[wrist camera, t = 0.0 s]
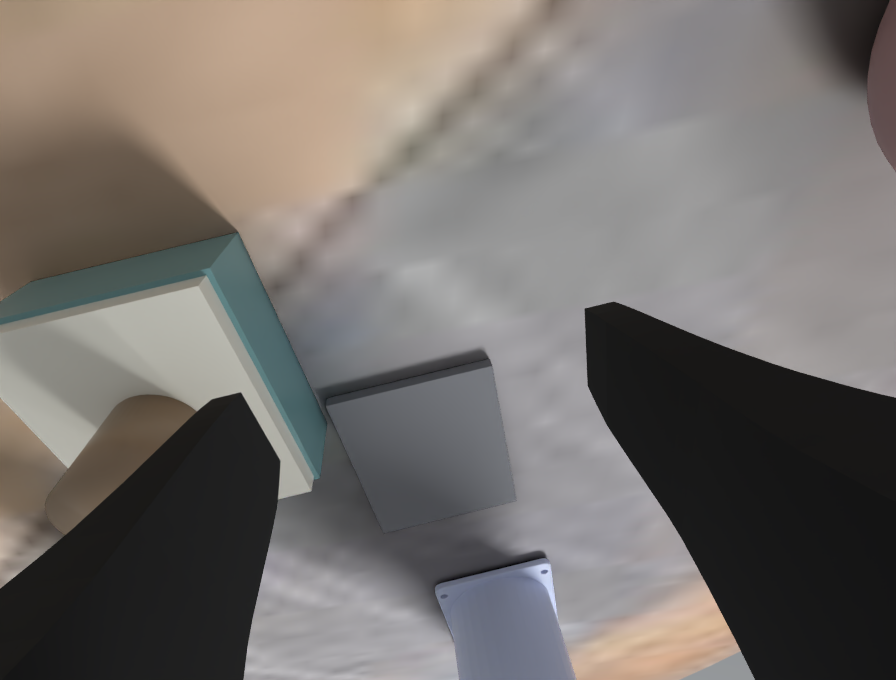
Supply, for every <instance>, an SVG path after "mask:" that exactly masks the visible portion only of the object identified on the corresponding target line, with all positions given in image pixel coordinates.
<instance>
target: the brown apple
mask: <svg viewBox="0 0 896 680" xmlns="http://www.w3.org/2000/svg"><path fill="white" fill-rule="evenodd" d="M867 103H868V109H869V115H870V120H871V125H872V128H873V131H874V134H875V137H876V140H877V143H878V145H879V146H880V148H881V150H882V152H883V153H884V155H885V157H886V159H887V160H888V162H889V163H890V164H891V166H892V167H893V169H894V170H895V171H896V0H890V1H889V4H888V6H887V8H886V11H885V13H884V15H883V18H882V20H881V23H880V25H879V28H878V32H877V35H876V38H875V42H874V45H873V48H872V52H871V58H870V65H869V71H868V77H867Z"/></svg>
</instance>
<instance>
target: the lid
mask: <svg viewBox="0 0 896 680" xmlns="http://www.w3.org/2000/svg"><path fill="white" fill-rule="evenodd" d="M239 392H241V393H242V395H243V397H244V398H245V400H246V402H247V404H248V405H249V407H250V409H251V410H252V412H253V414H254V416H255V417H256V419H257V421H258V423H259V424H260V426H261V428H262V430H263V431H264V433H265V435H266V436H267V438H268V440H269V442H270V443H271V445H272V447H273V449H274V450H275V452H276V454H277V456H278V457H279V459H280V461H281V462H280V480H279V492H278V499H282V498H286V497H290V496H294V495H298V494H303V493H307V492H311V491H312V485H313V478H314V476H313V474H312V472H311V470H310V468H309V466H308V465H307V463H306V461H305V459H304V457H303V455H302V453H301V451H300V450H299V448H298V446H297V444H296V442H295V440H294V438H293V436H292V435H291V433H290V431H289V429H288V427H287V425H286V423H285V421H284V420H283V418H282V416H281V414H280V412H279V410H278V408H277V406H276V405H275V403H274V401H273V399H272V397H271V395H270V393H269V391H268V390H267V388H266V386H265V384H264V382H263V380H262V378H261V376H260V374H259V373H258V371H257V369H256V367H255V365H254V363H253V361H252V359H251V358H250V356H249V354H248V352H247V350H246V348H245V346H244V344H243V343H242V341H241V339H240V337H239V335H238V333H237V331H236V329H235V328H234V326H233V324H232V322H231V320H230V318H229V316H228V314H227V313H226V311H225V309H224V307H223V305H222V303H221V301H220V299H219V298H218V296H217V294H216V292H215V290H214V288H213V286H212V284H211V283H210V281H209V279H208V277H207V275H205V276H201V277H197V278H193V279H189V280H184V281H180V282H176V283H172V284H168V285H164V286H160V287H155V288H151V289H147V290H143V291H139V292H135V293H130V294H126V295H122V296H118V297H114V298H110V299H105V300H101V301H97V302H93V303H89V304H85V305H80V306H76V307H72V308H68V309H64V310H60V311H55V312H51V313H47V314H43V315H39V316H35V317H31V318H26V319H22V320H18V321H14V322H10V323H6V324H1V325H0V398H1V399H2V400H3V401H4V402H5V403H6V404H7V405H8V406H9V407H10V408H11V409H12V410H13V412H14V413H15V414H16V415H17V416H18V417H19V418H20V419H21V420H22V421H23V422H24V423H25V424H26V425H27V426H28V427H29V428H30V429H31V430H32V431H33V432H34V433H35V435H36V436H37V437H38V438H39V439H40V440H41V441H42V442H43V443H44V444H45V445H46V446H47V447H48V448H49V449H50V450H51V451H52V452H53V453H54V454H55V455H56V456H57V458H58V459H59V460H60V461H61V462H62V463H63V464H64V465H65V466H66V467H67V468H68V470H67V471H66V472H65V474H64V475H63V476H62V478H61V479H60V480H59V482H58V483H57V484H56V486H55V487H54V488H53V490H52V491H51V492H50V494H49V495H48V497H47V499H46V503H45V511H46V515H47V517H48V519H49V520H50V522H51V523H52V525H53V526H54V527H55V528H56V529H58V530H59V531H60V532H61V533H63V534H64V535H66V534H67V533H68V532H69V531H71V530H72V529H73V528H74V527H75V526H76V525H77V524H78V523H79V522H81V521H82V520H83V519H84V518H85V517H86V516H87V515H88V514H89V513H90V512H92V511H93V510H94V509H95V508H96V507H97V506H98V505H99V504H100V503H101V502H102V501H104V500H105V499H106V498H107V497H108V496H109V495H110V494H111V493H112V492H113V491H114V490H116V489H117V488H118V487H119V486H120V485H121V484H122V483H123V482H124V481H125V480H126V479H127V478H128V477H130V476H131V475H132V474H133V473H134V472H135V471H136V470H137V469H138V468H139V467H140V466H141V465H142V464H143V463H144V462H145V461H146V460H147V459H148V458H149V457H150V456H151V455H152V454H153V453H154V452H155V451H156V450H157V449H158V448H159V447H160V446H161V445H162V444H164V443H165V442H166V441H167V440H168V439H169V438H170V437H171V436H172V435H173V434H174V433H175V432H176V431H177V430H178V429H179V428H180V427H181V426H182V425H183V424H184V423H185V422H186V421H187V420H188V419H189V418H191V417H192V416H193V415H194V414H195V413H196V412H197V411H198V410H199V409H200V408H202V407H203V406H204V405H205V404H206V403H208V402H209V401H210V400H211V399H215V398H219V397H223V396H227V395H231V394H235V393H239Z"/></svg>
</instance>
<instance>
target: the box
mask: <svg viewBox="0 0 896 680" xmlns="http://www.w3.org/2000/svg"><path fill="white" fill-rule="evenodd" d="M205 275H207V277H208V279H209V281H210V283H211V284H212V286H213V288H214V290H215V292H216V294H217V296H218V298H219V299H220V301H221V303H222V305H223V307H224V309H225V311H226V313H227V314H228V316H229V318H230V320H231V322H232V324H233V326H234V328H235V329H236V331H237V333H238V335H239V337H240V339H241V341H242V343H243V344H244V346H245V348H246V350H247V352H248V354H249V356H250V358H251V359H252V361H253V363H254V365H255V367H256V369H257V371H258V373H259V374H260V376H261V378H262V380H263V382H264V384H265V386H266V388H267V390H268V391H269V393H270V395H271V397H272V399H273V401H274V403H275V405H276V406H277V408H278V410H279V412H280V414H281V416H282V418H283V420H284V421H285V423H286V425H287V427H288V429H289V431H290V433H291V435H292V436H293V438H294V440H295V442H296V444H297V446H298V448H299V450H300V451H301V453H302V455H303V457H304V459H305V461H306V463H307V465H308V466H309V468H310V470H311V472H312V474H313V476H314V478H313V480H315V479H319V478H320V474H321V467H322V459H323V452H324V444H325V437H326V429H327V422H326V420H325V418H324V415H323V413H322V411H321V409H320V407H319V405H318V403H317V400H316V398H315V396H314V394H313V392H312V390H311V388H310V385H309V383H308V381H307V379H306V377H305V375H304V372H303V370H302V368H301V366H300V364H299V362H298V360H297V357H296V355H295V353H294V351H293V349H292V347H291V345H290V342H289V340H288V338H287V336H286V334H285V332H284V330H283V327H282V325H281V323H280V321H279V319H278V317H277V314H276V312H275V310H274V308H273V306H272V304H271V302H270V299H269V297H268V295H267V293H266V291H265V289H264V287H263V284H262V282H261V280H260V278H259V276H258V274H257V272H256V269H255V267H254V265H253V263H252V261H251V259H250V256H249V254H248V252H247V250H246V248H245V246H244V244H243V241H242V239H241V237H240V235H239V233H238V232H236V233H232V234H228V235H224V236H220V237H216V238H211V239H207V240H203V241H199V242H195V243H191V244H186V245H182V246H178V247H174V248H170V249H166V250H161V251H157V252H153V253H149V254H145V255H141V256H136V257H132V258H128V259H124V260H120V261H116V262H111V263H107V264H103V265H99V266H95V267H90V268H86V269H82V270H78V271H74V272H70V273H65V274H61V275H57V276H53V277H49V278H45V279H40V280H36V281H32V282H30V283H28V284H27V285H25V286H24V287H22V288H20V289H19V290H17V291H16V292H14V293H13V294H11V295H10V296H8V297H7V298H5V299H3V300H2V301H0V325H1V324H6V323H10V322H14V321H18V320H22V319H26V318H31V317H35V316H39V315H43V314H47V313H51V312H55V311H60V310H64V309H68V308H72V307H76V306H80V305H85V304H89V303H93V302H97V301H101V300H105V299H110V298H114V297H118V296H122V295H126V294H130V293H135V292H139V291H143V290H147V289H151V288H155V287H160V286H164V285H168V284H172V283H176V282H180V281H184V280H189V279H193V278H197V277H201V276H205Z"/></svg>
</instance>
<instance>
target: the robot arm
mask: <svg viewBox="0 0 896 680" xmlns="http://www.w3.org/2000/svg"><path fill="white" fill-rule="evenodd" d="M585 328H586V353H587V378H588V387H589V390H590V392H591V394H592V396H593V398H594V400H595V402H596V404H597V406H598V408H599V410H600V412H601V414H602V416H603V418H604V420H605V422H606V424H607V426H608V427H609V429H610V430H611V432H612V434H613V435H614V437H615V438H616V440H617V441H618V443H619V444H620V446H621V447H622V449H623V450H624V452H625V453H626V455H627V456H628V458H629V459H630V461H631V462H632V464H633V465H634V466H635V468H636V469H637V471H638V472H639V474H640V475H641V477H642V478H643V480H644V481H645V483H646V484H647V486H648V487H649V489H650V490H651V492H652V493H653V495H654V496H655V498H656V499H657V500H658V502H659V503H660V505H661V506H662V508H663V509H664V511H665V512H666V514H667V515H668V517H669V518H670V520H671V522H672V523H673V525H674V527H675V528H676V530H677V531H678V533H679V535H680V536H681V538H682V540H683V542H684V543H685V545H686V547H687V549H688V551H689V553H690V555H691V556H692V558H693V560H694V562H695V564H696V566H697V567H698V569H699V571H700V573H701V575H702V577H703V579H704V580H705V582H706V584H707V586H708V588H709V590H710V592H711V594H712V595H713V597H714V599H715V601H716V603H717V605H718V607H719V609H720V611H721V613H722V615H723V617H724V619H725V621H726V623H727V624H728V626H729V628H730V630H731V632H732V634H733V636H734V638H735V640H736V642H737V644H738V646H739V648H740V650H741V652H742V654H743V656H744V658H745V660H746V662H747V664H748V666H749V668H750V670H751V672H752V674H753V676H754V678H755V680H896V398H894V397H890V396H885V395H881V394H877V393H873V392H869V391H865V390H861V389H857V388H853V387H849V386H846V385H842V384H839V383H835V382H832V381H828V380H825V379H821V378H818V377H814V376H811V375H807V374H804V373H800V372H797V371H794V370H790V369H787V368H784V367H781V366H778V365H775V364H772V363H769V362H766V361H763V360H760V359H758V358H755V357H752V356H749V355H746V354H743V353H741V352H738V351H735V350H732V349H730V348H727V347H724V346H722V345H719V344H717V343H714V342H711V341H709V340H706V339H704V338H701V337H699V336H696V335H694V334H692V333H689V332H687V331H684V330H682V329H680V328H677V327H675V326H672V325H670V324H668V323H665V322H663V321H661V320H658V319H656V318H654V317H651V316H649V315H647V314H644V313H642V312H640V311H637V310H635V309H632V308H630V307H627V306H625V305H622V304H619V303H616V302H610V303H606V304H602V305H598V306H594V307H590V308H586V309H585ZM280 462H281V461H280V459H279V457H278V456H277V454H276V452H275V450H274V449H273V447H272V445H271V443H270V442H269V440H268V438H267V436H266V435H265V433H264V431H263V430H262V428H261V426H260V424H259V423H258V421H257V419H256V417H255V416H254V414H253V412H252V410H251V409H250V407H249V405H248V404H247V402H246V400H245V398H244V397H243V395H242V393H241V392H239V393H235V394H231V395H227V396H223V397H219V398H215V399H211V400H210V401H209V402H208V403H206V404H205V405H204V406H203V407H202V408H200V409H199V410H198V411H197V412H196V413H195V414H194V415H193V416H192V417H191V418H189V419H188V420H187V421H186V422H185V423H184V424H183V425H182V426H181V427H180V428H179V429H178V430H177V431H176V432H175V433H174V434H173V435H172V436H171V437H170V438H169V439H168V440H167V441H166V442H165V443H164V444H162V445H161V446H160V447H159V448H158V449H157V450H156V451H155V452H154V453H153V454H152V455H151V456H150V457H149V458H148V459H147V460H146V461H145V462H144V463H143V464H142V465H141V466H140V467H139V468H138V469H137V470H136V471H135V472H134V473H133V474H132V475H131V476H130V477H128V478H127V479H126V480H125V481H124V482H123V483H122V484H121V485H120V486H119V487H118V488H117V489H116V490H114V491H113V492H112V493H111V494H110V495H109V496H108V497H107V498H106V499H105V500H104V501H102V502H101V503H100V504H99V505H98V506H97V507H96V508H95V509H94V510H93V511H92V512H90V513H89V514H88V515H87V516H86V517H85V518H84V519H83V520H82V521H81V522H79V523H78V524H77V525H76V526H75V527H74V528H73V529H72V530H71V531H69V532H68V533H67V534H66V535H65V536H64V537H63V538H61V539H60V540H59V541H58V542H57V543H56V544H54V545H53V546H52V547H51V548H50V549H48V550H47V551H46V552H45V553H44V554H43V555H41V556H40V557H39V558H38V559H37V560H35V561H34V562H33V563H32V564H30V565H29V566H28V567H27V568H25V569H24V570H23V571H22V572H20V573H19V574H18V575H17V576H15V577H14V578H13V579H12V580H10V581H9V582H8V583H7V584H6V585H4V586H3V587H2V588H1V589H0V680H243V678H244V670H245V662H246V654H247V646H248V640H249V635H250V629H251V624H252V618H253V614H254V609H255V605H256V600H257V596H258V591H259V587H260V583H261V578H262V574H263V569H264V565H265V560H266V556H267V552H268V547H269V543H270V538H271V533H272V529H273V524H274V519H275V515H276V510H277V503H278V492H279V480H280ZM435 594H436V596H437V599H438V601H439V604H440V606H441V609H442V611H443V614H444V616H445V619H446V621H447V624H448V626H449V629H450V631H451V634H452V636H453V639H454V644H455V652H456V659H457V667H458V674H459V680H577V679H576V676H575V673H574V670H573V667H572V663H571V660H570V657H569V654H568V651H567V648H566V645H565V642H564V639H563V636H562V633H561V629H560V626H559V623H558V617H557V609H556V602H555V594H554V587H553V579H552V571H551V565H550V562H549V560H548V559H546V558H541V559H537V560H533V561H529V562H525V563H521V564H517V565H513V566H509V567H505V568H501V569H497V570H493V571H489V572H485V573H481V574H477V575H473V576H468V577H464V578H460V579H456V580H452V581H448V582H444V583H440V584H438V585H437V586H436V587H435Z"/></svg>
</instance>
